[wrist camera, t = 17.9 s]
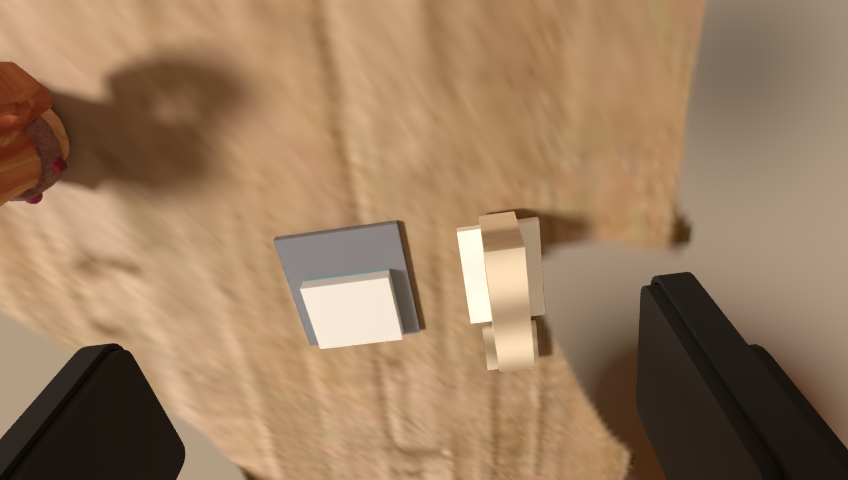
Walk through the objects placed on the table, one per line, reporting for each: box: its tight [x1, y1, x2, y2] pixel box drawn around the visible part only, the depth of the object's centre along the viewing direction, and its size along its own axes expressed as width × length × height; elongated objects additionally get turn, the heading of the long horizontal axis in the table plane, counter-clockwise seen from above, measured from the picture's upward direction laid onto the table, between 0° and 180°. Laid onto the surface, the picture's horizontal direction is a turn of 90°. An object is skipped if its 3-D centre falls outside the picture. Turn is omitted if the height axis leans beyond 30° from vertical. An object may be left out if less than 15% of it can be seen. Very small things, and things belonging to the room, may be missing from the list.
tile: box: [300, 269, 404, 349], centre depth 49 cm, size 2×8×7 cm
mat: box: [274, 221, 420, 345], centre depth 49 cm, size 12×11×1 cm
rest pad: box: [457, 217, 545, 324], centre depth 48 cm, size 10×7×1 cm
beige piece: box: [479, 211, 539, 372], centre depth 46 cm, size 16×5×6 cm, turn 9°
